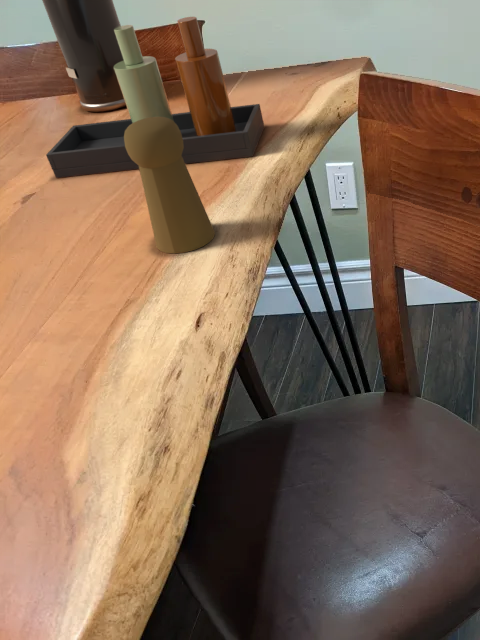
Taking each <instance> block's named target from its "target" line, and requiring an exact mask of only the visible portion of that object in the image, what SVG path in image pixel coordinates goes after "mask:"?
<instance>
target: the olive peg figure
mask: <svg viewBox="0 0 480 640" xmlns="http://www.w3.org/2000/svg"><path fill="white" fill-rule="evenodd" d="M124 142H125V147H126V150H127V153H128V155H129V156H130V158H131V159H132V160H133V161H134V162H135V163H136V164H137V165H139V169H138V170H139V174H140V178H141V184H142V188H143V192H144V197H145V202H146V206H147V211H148V215H149V220H150V224H151V228H152V233H153V237H154V242H155V247H156V249H157V250H158V251H159V252H162V253H164V254H183V253H184V254H185V253H189V252H192V251H195V250H197V249H200V248H203V247H204V246H206V245H208V244H210V242H212V240H213V239H214V238H215V235H216V232H215V229H214V227H213V224H212V222H211V220H210V218H209V215H208V212H207V210H206V208H205V206H204V204H203V202H202V199H201V197H200V195H199V192H198V190H197V188H196V186H195V183H194V181H193V178H192V176H191V174H190V171H189V169H188V167H187V164H185V162H184V160H183V158H182V156H181V155H182V152H183V148H184V146H183V138H182V135H181V132H180V130H179V128H178V126H177V125H176V124H175V122H174V121H173V120H171V119H169V118H166V117H149V118H144V119H141V120H138V121H136V122H134V123H132V124H131V125H129V126H128V127H127V129H126V130H125V133H124Z"/></svg>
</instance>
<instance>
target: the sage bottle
mask: <svg viewBox="0 0 480 640" xmlns="http://www.w3.org/2000/svg"><path fill="white" fill-rule="evenodd" d="M114 32H115V35H116V38H117V41H118V44H119V47H120V50H121V53H122V56H123V59H124V61H121V62H119V63H117V64H115V65H114V67H113V68H114V71H115V74H116V77H117V79H118V82H119V85H120V88H121V91H122V94H123V97H124V100H125V103H126V106H125V107H126V109H127V112H128V114H129V115H128V116H129V117H130V118H129V119H131V121H132V123H134V122H136V121H138V120H141V119H144V118H149V117H166V118H169V119H171V120H173V121H174V119H173V115H172V114H173V111H172V108H171V105H170V102H169V99H168V96H167V92H166V89H165V86H164V82H163V78H162V75H161V73H160V69H159V65H158V62H157V59H156V57H154V56H151V55H147V56H145V55H143V54H142V51H141V47H140V44H139V41H138V37H137V33H136V31H135V28H134V25H132V24H125V25H121V26H120V27H117V28H115V29H114Z"/></svg>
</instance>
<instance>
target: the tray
mask: <svg viewBox="0 0 480 640" xmlns="http://www.w3.org/2000/svg"><path fill="white" fill-rule="evenodd" d="M231 110H232V114H233V118H234V122H235V127H236V131H237V132H229V133H220V134H211V135H202V136H196V132H195V129H194V125H193V122H192V118H191V114H190V111H185V112H177V113H172V115H173V119H174V122H175V124H176V125H177V126H178V128H179V130H180V132H181V135H182V138H183V146H184V148H183V152H182V155H181V156H182V158H183V160H184V162H185V165H189V164H197V163H205V162H215V161H223V160H233V159H245V158H250V157H254V156H255V153H256V150H257V147H258V144H259V142H260V139H261V137H262V134H263V131H264V129H265V123H264V120H263V114H262V109H261V104H260V103H253V104H247V105H246V104H245V105H235V106H231ZM131 124H132V121H131V118H126V119H118V120H109V121H108V120H107V121H102V122H101V121H100V122H92V123H83V124H75V125H72V127H71V128H69V129H68V131H67V132H66V133H64V135H63V136H62V137H61V138H60V139H59V140H58V141H57V142H56V144H54V146H52V148H51V149H50V150H49V151H47V153H46V154H45V156H46V159H47V161H48V164H49V165H50V167H51V168H50V169H51V170H52V172H53V175H54V176H55V179H61V178H69V177H78V176H89V175H96V174H97V175H98V174H107V173H117V172H123V171H125V172H126V171H132V170H139V165H137V164H136V163H135V162H134V161H133V160H132V159H131V158H130V156H129V155H128V153H127V150H126V147H125V142H124V133H125V130H126V129H127V127H128V126H129V125H131Z"/></svg>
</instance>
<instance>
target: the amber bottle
mask: <svg viewBox="0 0 480 640" xmlns="http://www.w3.org/2000/svg"><path fill="white" fill-rule="evenodd" d="M198 21H199V20H198V17H197V16H187V17H181V18H179V19H178V20H177V21H176V22H177V26H178V29H179V33H180V37H181V41H182V45H183V48H184V52H183V53H181V54H179V55H177V56H176V57H175V58H174V61H175V64H176V68H177V72H178V76H179V79H180V82H181V86H182V89H183V90H182V91H183V93H184V96H185V100H186V104H187V107H188V112H190V114H191V118H192V122H193V125H194V129H195V132H196V136H202V135H211V134H220V133H229V132H237V131H236V127H235V122H234V118H233V114H232V110H231V107H232V106H231V102H230V97H229V94H228V91H227V90H228V89H227V86H226V81H225V77H224V73H223V68H222V65H221V61H220V57H219V53H218V52H219V51H218V50H217V49H216V48H205V45H204V41H203V37H202V33H201V30H200V25H199V22H198Z"/></svg>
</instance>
